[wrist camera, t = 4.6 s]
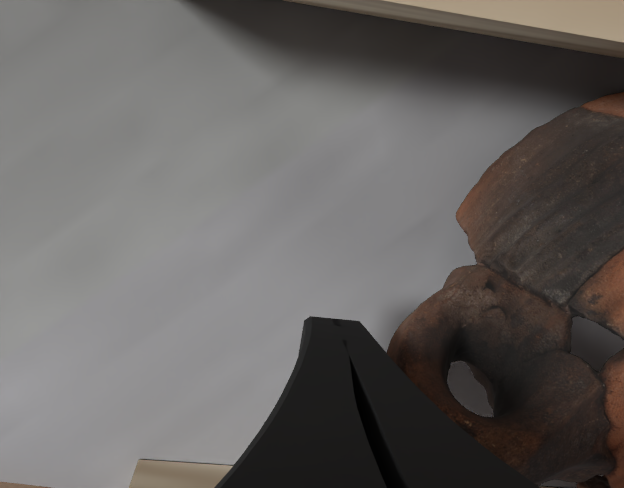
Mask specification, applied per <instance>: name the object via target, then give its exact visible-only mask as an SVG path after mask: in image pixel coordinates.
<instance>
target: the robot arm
mask: <svg viewBox="0 0 624 488" xmlns="http://www.w3.org/2000/svg"><path fill="white" fill-rule="evenodd" d="M214 488H540V487H539V486H537V485H536V484H535V483H533V482H532V481H530V480H529V479H527V478H526V477H525V476H523V475H522V474H520V473H519V472H518V471H516V470H515V469H513V468H512V467H510V466H509V465H508V464H506V463H505V462H503V461H502V460H501V459H499V458H498V457H497V456H495V455H494V454H493V453H491V452H490V451H489V450H487V449H486V448H485V447H484V446H482V445H481V444H480V443H479V442H478V441H476V440H475V439H474V438H473V437H472V436H470V435H469V434H468V433H467V432H465V431H464V430H463V429H462V428H461V427H459V426H458V425H457V424H456V423H455V422H454V421H452V420H451V419H450V418H449V417H448V416H447V415H446V414H445V413H444V412H442V411H441V410H440V409H439V408H438V407H437V406H436V405H435V404H434V403H433V402H432V401H431V400H430V399H429V398H428V397H427V396H426V395H425V394H424V393H423V392H422V391H421V390H420V389H419V388H418V387H417V386H416V385H415V384H414V383H413V382H412V381H411V380H410V379H409V378H408V377H407V376H406V374H405V373H404V372H403V371H402V370H401V369H400V368H399V367H398V366H397V365H396V363H395V362H394V361H393V360H392V359H391V358H390V357H389V355H388V354H387V353H386V352H385V351H384V350H383V348H382V347H381V346H380V345H379V344H378V343H377V341H376V340H375V339H374V338H373V337H372V335H371V334H370V333H369V332H368V331H367V329H366V328H365V327H364V326H363V325H362V324H361V323H360V322H359V321H352V320H342V319H331V318H321V317H311V316H310V317H309V318H307V319H306V320H304V326H303V332H302V338H301V344H300V350H299V357H298V359H297V362H296V365H295V367H294V370H293V372H292V374H291V376H290V378H289V380H288V382H287V384H286V387H285V389H284V391H283V393H282V395H281V397H280V398H279V400H278V402H277V404H276V405H275V407H274V409H273V411H272V412H271V414H270V416H269V417H268V419H267V420H266V422H265V423H264V425H263V426H262V428H261V429H260V431H259V432H258V434H257V435H256V437H255V438H254V439H253V441H252V442H251V443H250V445H249V446H248V448H247V449H246V450H245V452H244V453H243V454H242V456H241V457H240V458H239V459H238V461H237V462H236V463H235V464H234V466H233V467H232V468H231V469H230V470H229V472H228V473H227V474H226V475H225V476H224V477H223V478H222V479H221V481H220V482H219V483H218V484H217V485H216V486H215V487H214Z"/></svg>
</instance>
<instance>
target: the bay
mask: <svg viewBox="0 0 624 488" xmlns="http://www.w3.org/2000/svg"><path fill="white" fill-rule="evenodd" d="M284 1H290V2H295V3H301V4H307V5H313V6H319V7H325V8H331V9H337V10H342V11H348V12H354V13H360V14H366V15H372V16H378V17H383V18H389V19H395V20H401V21H407V22H413V23H419V24H424V25H430V26H436V27H442V28H448V29H454V30H460V31H466V32H471V33H477V34H483V35H489V36H495V37H501V38H507V39H512V40H518V41H524V42H530V43H536V44H542V45H548V46H553V47H559V48H565V49H571V50H577V51H583V52H589V53H595V54H600V55H606V56H612V57H618V58H624V0H284ZM232 467H233V466H228V465H213V464H198V463H183V462H169V461H154V460H138V463H137V466H136V469H135V472H134V475H133V478H132V480H131V483H130V486H129V488H214V487H215V486H216V485H217V484H218V483H219V482H220V481H221V479H222V478H223V477H224V476H225V475H226V474H227V473H228V472H229V470H230V469H231V468H232ZM539 487H540V486H539ZM540 488H555V487H540Z"/></svg>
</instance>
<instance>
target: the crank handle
mask: <svg viewBox="0 0 624 488" xmlns="http://www.w3.org/2000/svg"><path fill="white" fill-rule="evenodd" d="M0 488H50V487H42V486H33V485H24V484H16V483H7V482H0Z"/></svg>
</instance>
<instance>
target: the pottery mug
mask: <svg viewBox="0 0 624 488" xmlns="http://www.w3.org/2000/svg"><path fill="white" fill-rule="evenodd" d="M456 219H457V221H458V223H459V225H460V226H461V227H462V229H463V230H464V232H465V233H466V234H467V236H468V243H469V245H470V247H471V249H472V250H473V251H474V253H475V258H476V262H477V264H476V265H472V266H462V267H459V268H456V269H455V270H453V271H452V272H451V274H450V275H449V276H448V278H447V280H446V282H445V284H444V286H443V289H441V290H440V291H438V292H437V293H435V294H433V295H432V296H431V297H429V298H428V299H427V300H426V301H424V302H423V303H422V304H420V306H419V307H418V308H417V309H416V310H415V311H414V312H413V313H411V314H410V315H409V316H408V317H407V318H406V319H405V320H404V321H403V322H402V324H401V325H400V326H399V327H398V329H397V330H396V332H395V333H394V335H393V337H392V339H391V341H390V344H389V347H388V350H387V354H388V355H389V357H390V358H391V359H392V360H393V361H394V362H395V363H396V365H397V366H398V367H399V368H400V369H401V370H402V371H403V372H404V373H405V374H406V376H407V377H408V378H409V379H410V380H411V381H412V382H413V383H414V384H415V385H416V386H417V387H418V388H419V389H420V390H421V391H422V392H423V393H424V394H425V395H426V396H427V397H428V398H429V399H430V400H431V401H432V402H433V403H434V404H435V405H436V406H437V407H438V408H439V409H440V410H441V411H442V412H444V413H445V414H446V415H447V416H448V417H449V418H450V419H451V420H452V421H454V422H455V423H456V424H457V425H458V426H459V427H461V428H462V429H463V430H464V431H465V432H467V433H468V434H469V435H470V436H472V437H473V438H474V439H475V440H476V441H478V442H479V443H480V444H481V445H482V446H484V447H485V448H486V449H487V450H489V451H490V452H491V453H493V454H494V455H495V456H497V457H498V458H499V459H501V460H502V461H503V462H505V463H506V464H508V465H509V466H510V467H512V468H513V469H515V470H516V471H518V472H519V473H520V474H522V475H523V476H525V477H526V478H527V479H529V480H530V481H532V482H533V483H535V484H536V485H537V486H538V485H540V484H542V483H544V482H546V481H549V480H553V479H560V480H565V481H568V482H577V485H576V486H577V488H624V348H623V349H622V350H621V351H619V352H618V353H616V354H615V355H614V356H612V357H610V358H609V359H608V360H607V362H606V363H605V365H604V366H603V368H602V370H601V371H600V372H596V371H595V370H594V369H593V368H592V367H591V366H590V365H589V364H588V363H587V362H585V361H584V360H583V359H581V358H579V357H577V356H575V355H572V354H570V350H571V327H572V318H573V317H575V316H578V315H579V316H580V317H582V318H587V319H589V320H591V321H594V322H596V323H598V324H599V325H601V326H602V327H604V328H606V329H608V330H609V331H611V332H612V333H614V334H616V335H618V336H620V337H621V338H622V339H623V340H624V92H621V93H616V94H612V95H606V96H603V97H600V98H598V99H596V100H593V101H590V102H587V103H585V104H583V105H582V106H580V107H577V108H573V109H570V110H568V111H566V112H565V113H563V114H561V115H559V116H558V117H556V118H554V119H553V120H551V121H550V122H548V123H546V124H544V125H542V126H540V127H537V128H535V129H534V130H532V131H531V132H530V133H529V134H528V135H526V136H525V137H524V138H523V139H522V140H521V141H520V142H519V143H517V144H516V145H515V146H513V147H512V148H510V149H509V150H507V151H506V152H504V153H503V154H502V155H501V156H500V157H499V159H498V160H496V161H495V162H494V163H493V164H492V165H491V166H489V168H488V169H487V170H486V171H485V173H484V174H483V175H482V177H481V178H480V180H479V182H478V183H477V184H476V185H475V186H474V187H473V188H472V189H471V191H470V192H469V193H468V195H467V196H466V198H465V200H464V201H463V202H462V204H461V206H460V207H459V209H458V211H457V213H456ZM459 360H462V361H465V362H466V363H467V364H468V366H469V367H470V369H471V371H472V373H473V375H474V377H475V379H476V380H477V381H478V382H479V383H481V384H482V385H483V386H484V388H485V389H486V391H487V398H488V402H489V404H490V405H491V407H492V408H493V414H494V417H482V416H479V415H477V414H474V413H472V412H470V411H469V410H467V409H466V408H465V407H463V406H462V405H461V404H460V403H459V402H458V401H457V400H456V399H455V398H454V396H453V395H452V393H451V392H450V390H449V387H448V384H447V375H448V370H449V368H450V364H451V362H454V361H459ZM598 475H603V476H598Z"/></svg>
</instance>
